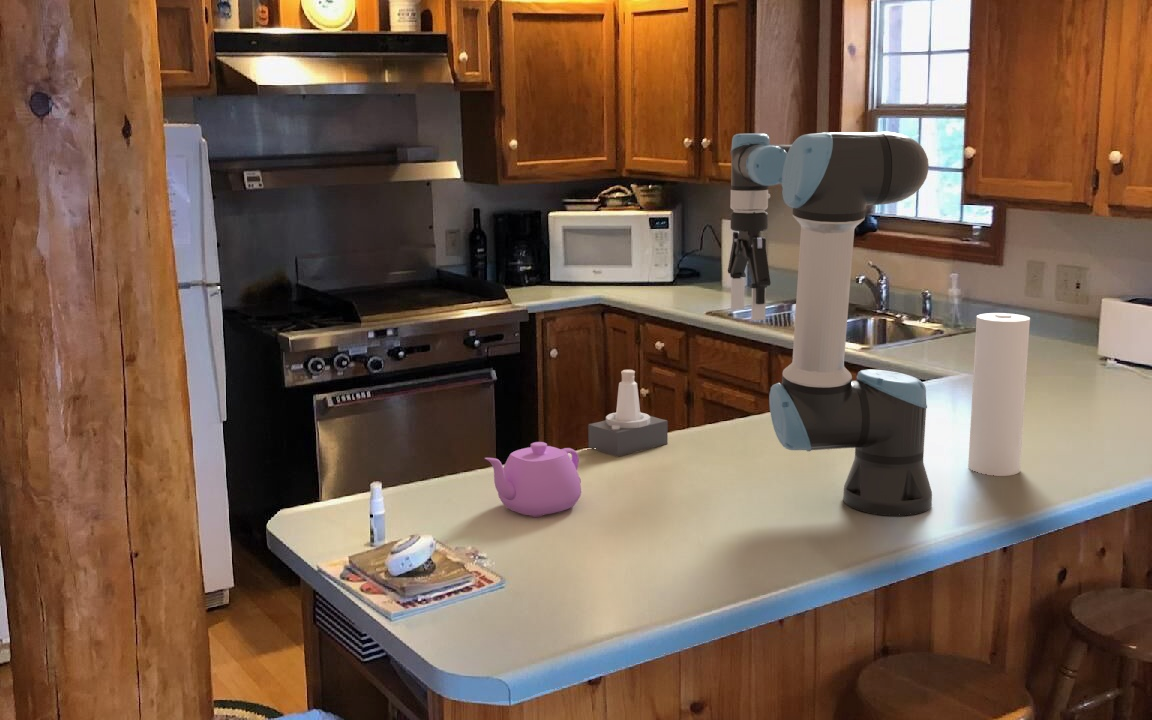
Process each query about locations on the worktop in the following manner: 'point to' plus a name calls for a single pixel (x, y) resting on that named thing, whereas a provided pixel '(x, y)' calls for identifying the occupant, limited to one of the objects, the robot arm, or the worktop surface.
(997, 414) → the cylinder container
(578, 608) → the worktop surface
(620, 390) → the salt shaker
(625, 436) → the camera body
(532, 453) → the teapot
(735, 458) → the worktop surface
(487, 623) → the worktop surface
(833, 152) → the robot arm
